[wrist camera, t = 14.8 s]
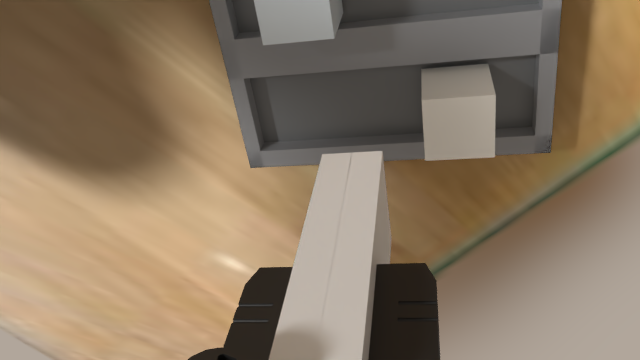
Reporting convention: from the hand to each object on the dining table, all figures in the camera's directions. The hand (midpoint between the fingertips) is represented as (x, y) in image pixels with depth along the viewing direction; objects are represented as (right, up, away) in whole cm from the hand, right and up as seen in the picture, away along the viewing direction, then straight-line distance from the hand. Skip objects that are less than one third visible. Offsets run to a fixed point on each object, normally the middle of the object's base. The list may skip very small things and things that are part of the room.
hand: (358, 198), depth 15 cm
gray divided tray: (+3, +10, +22) cm, 25 cm away
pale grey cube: (-2, +12, +19) cm, 23 cm away
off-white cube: (+8, +6, +22) cm, 24 cm away
